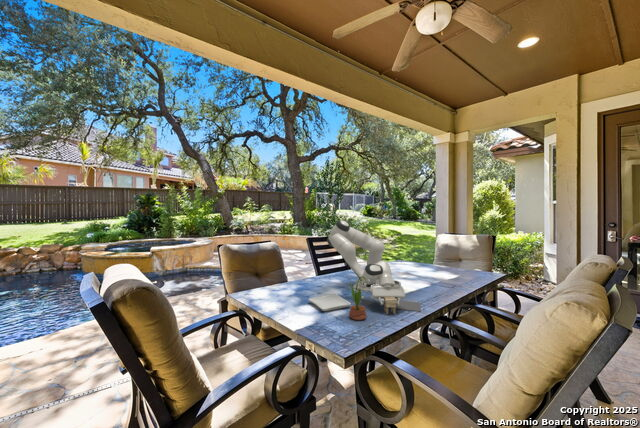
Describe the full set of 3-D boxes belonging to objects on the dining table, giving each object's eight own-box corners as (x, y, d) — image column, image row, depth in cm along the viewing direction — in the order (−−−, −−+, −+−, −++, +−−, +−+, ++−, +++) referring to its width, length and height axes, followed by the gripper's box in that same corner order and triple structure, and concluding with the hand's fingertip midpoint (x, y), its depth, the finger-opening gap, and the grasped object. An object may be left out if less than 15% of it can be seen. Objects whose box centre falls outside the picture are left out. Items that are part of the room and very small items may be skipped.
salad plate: (322, 314, 169) (322, 308, 169) (307, 303, 188) (307, 298, 187) (352, 308, 179) (352, 303, 179) (335, 298, 197) (335, 293, 197)
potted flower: (371, 316, 166) (371, 273, 165) (368, 322, 156) (369, 278, 155) (351, 313, 170) (351, 272, 169) (347, 319, 160) (347, 275, 159)
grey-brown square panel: (393, 308, 178) (394, 307, 178) (395, 300, 193) (395, 299, 193) (420, 312, 173) (420, 311, 173) (420, 303, 188) (420, 302, 188)
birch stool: (383, 310, 174) (383, 296, 174) (393, 310, 174) (393, 296, 174) (385, 314, 168) (386, 299, 168) (396, 314, 168) (396, 299, 168)
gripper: (370, 281, 178) (373, 302, 168) (403, 282, 178) (407, 302, 168) (369, 286, 182) (372, 307, 173) (401, 287, 182) (405, 307, 173)
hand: (390, 305), depth 170 cm, fingers open, 8 cm apart
